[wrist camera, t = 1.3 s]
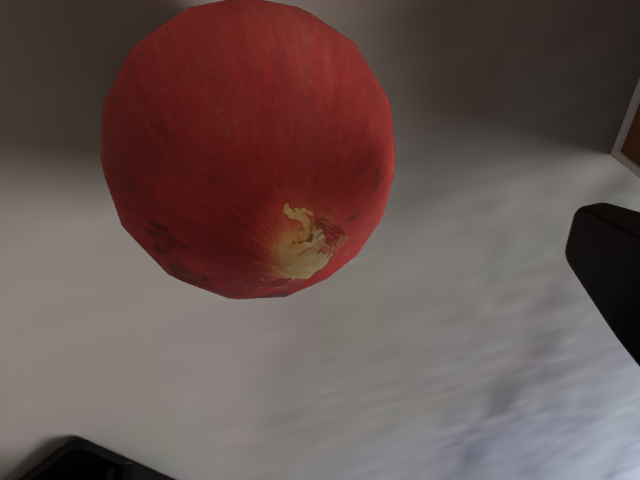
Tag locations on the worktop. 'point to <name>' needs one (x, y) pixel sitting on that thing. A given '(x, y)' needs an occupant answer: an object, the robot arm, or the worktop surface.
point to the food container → (630, 136)
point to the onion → (248, 148)
